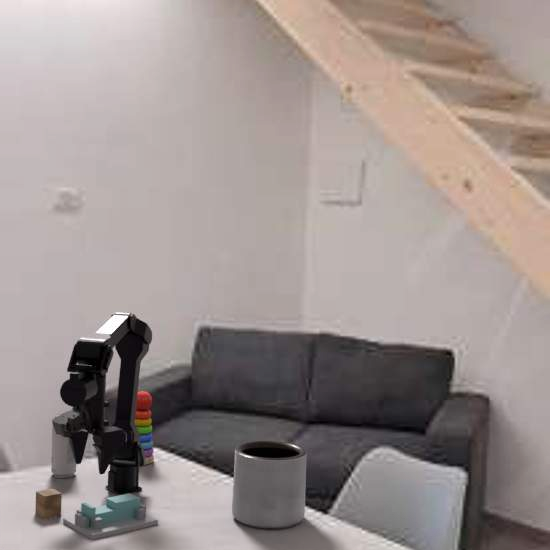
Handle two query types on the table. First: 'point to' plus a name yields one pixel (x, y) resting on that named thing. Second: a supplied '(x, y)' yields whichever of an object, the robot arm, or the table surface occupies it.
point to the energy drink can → (62, 456)
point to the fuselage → (113, 509)
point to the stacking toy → (144, 424)
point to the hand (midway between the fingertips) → (89, 468)
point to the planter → (269, 484)
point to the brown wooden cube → (48, 503)
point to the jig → (109, 524)
